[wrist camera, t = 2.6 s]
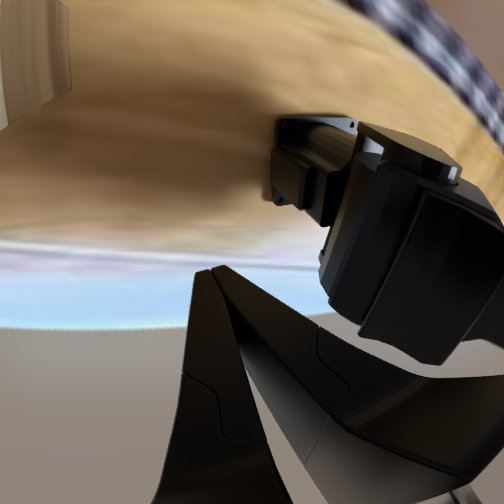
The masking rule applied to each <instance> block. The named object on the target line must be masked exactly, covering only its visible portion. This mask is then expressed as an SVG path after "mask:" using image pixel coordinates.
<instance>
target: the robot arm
mask: <svg viewBox="0 0 504 504" xmlns="http://www.w3.org/2000/svg"><path fill="white" fill-rule="evenodd" d="M283 122H286V125H285V126H284V127H282V123H283ZM350 122H351V125H350V126H349V124H350ZM356 128H357V131H358V134H357V136H356ZM462 169H463V168H462V167H461V166H460V165H459V164H458V163H457V162H456V161H454V160H453V159H452V158H451V157H450V156H449V155H448V154H447V153H445V152H444V151H443V150H442V149H440V148H438V147H436V146H434V145H432V144H430V143H427V142H425V141H423V140H421V139H418V138H416V137H414V136H411V135H408V134H405V133H402V132H398V131H395V130H391V129H388V128H384V127H381V126H377V125H373V124H369V123H365V122H361V121H359V123H358V126H357V122H356V120H355V119H353V118H351V117H332V116H283V117H280V118H278V119H277V121H276V124H275V144H274V148H273V149H272V153H271V173H270V183H271V184H272V198H271V199H272V202H273V203H274V204H275V205H277V206H283V205H289V204H293V205H294V206H295V207H296V208H297V209H298V210H300V211H302V210H304V211H305V212H306V213H307V214H308V215H309V216H311V217H312V218H313V219H314V220H315V221H316V222H317V223H318V224H319V225H320V226H321V227H328V226H330V229H329V232H328V235H327V238H326V242H325V245H324V248H323V249H322V250H321V251H320V254H319V261H320V264H321V265H320V268H319V271H318V272H319V278H320V283H321V285H322V287H323V288H324V290H325V292H326V293H327V295H328V296H329V299H328V303H329V305H330V306H331V307H332V308H333V309H334V310H335V311H336V312H337V313H339V314H340V315H341V316H342V317H344V318H345V319H347V320H349V321H350V322H352V323H354V324H356V325H358V326H361V327H360V329H359V331H358V333H357V334H358V336H360V337H362V338H367V339H372V340H378V341H381V342H383V343H386V344H389V345H392V346H394V347H396V348H397V349H399V350H401V351H403V352H404V353H406V354H407V355H409V356H411V357H412V358H414V359H415V360H417V361H419V362H420V363H423V364H429V365H437V366H439V365H442V364H443V363H444V362H445V361H446V360H447V358H448V357H449V356H450V355H451V353H452V352H453V351H454V350H455V348H456V347H457V346H458V345H459V343H460V342H464V341H471V340H477V339H481V340H484V341H487V342H489V343H491V344H493V345H495V346H497V347H499V348H501V349H503V350H504V226H503V224H502V222H501V220H500V218H499V217H498V215H497V213H496V212H495V210H494V209H493V207H492V206H491V204H490V203H489V201H488V200H487V198H486V197H485V195H484V194H483V192H482V191H481V190H480V189H479V188H478V187H477V186H475V185H473V184H472V183H470V182H468V181H466V180H464V179H462V178H460V175H461V172H462ZM279 197H281V198H280V200H278V201H277V199H278V198H279ZM244 366H245V367H244ZM245 368H246V370H247V371H248V373H249V375H250V377H251V379H252V380H253V382H254V384H255V386H256V387H257V389H258V391H259V393H260V394H261V396H262V398H263V400H264V401H265V403H266V405H267V407H268V408H269V410H270V411H271V413H272V415H273V417H274V418H275V420H276V422H277V423H278V425H279V427H280V428H281V430H282V432H283V433H284V435H285V436H286V438H287V440H288V441H289V443H290V445H291V446H292V448H293V450H294V451H295V453H296V454H297V456H298V458H299V459H300V461H301V462H302V464H303V465H304V467H305V469H306V470H307V472H308V474H309V475H310V477H311V478H312V480H313V481H314V483H315V484H316V486H317V487H318V489H319V490H320V492H321V493H322V495H323V496H324V498H325V499H326V501H327V502H328V504H504V375H496V376H482V377H462V378H429V377H424V376H420V375H416V374H413V373H411V372H408V371H406V370H404V369H401V368H399V367H397V366H395V365H393V364H390V363H388V362H386V361H383V360H382V359H380V358H377V357H375V356H373V355H371V354H369V353H367V352H365V351H363V350H361V349H359V348H356V347H355V346H353V345H351V344H349V343H347V342H346V341H344V340H342V339H340V338H338V337H337V336H335V335H334V334H332V333H330V332H329V331H327V330H325V329H324V328H322V327H319V326H318V325H317V324H316V323H314V322H313V321H311V320H309V319H308V318H306V317H305V316H303V315H302V314H300V313H298V312H297V311H295V310H294V309H292V308H291V307H289V306H287V305H286V304H284V303H283V302H281V301H280V300H278V299H277V298H275V297H274V296H272V295H270V294H269V293H267V292H266V291H264V290H263V289H261V288H260V287H258V286H257V285H255V284H254V283H252V282H250V281H249V280H247V279H246V278H244V277H243V276H241V275H240V274H238V273H237V272H235V271H234V270H232V269H231V268H229V267H228V266H226V265H221V266H217V267H213V268H211V270H209V269H206V270H202V271H199V272H196V273H195V275H194V282H193V289H192V295H191V302H190V310H189V317H188V324H187V332H186V341H185V349H184V356H183V366H182V374H181V382H180V390H179V397H178V404H177V410H176V415H175V419H174V424H173V429H172V433H171V437H170V441H169V445H168V450H167V454H166V458H165V462H164V466H163V471H162V475H161V479H160V482H159V485H158V488H157V491H156V493H155V496H154V498H153V500H152V502H151V504H293V502H292V500H291V497H290V495H289V493H288V491H287V489H286V487H285V485H284V483H283V480H282V478H281V476H280V474H279V472H278V469H277V467H276V464H275V462H274V459H273V456H272V453H271V451H270V448H269V445H268V443H267V438H266V435H265V432H264V429H263V426H262V423H261V420H260V416H259V414H258V410H257V407H256V404H255V400H254V397H253V394H252V391H251V387H250V384H249V381H248V377H247V374H246V370H245Z"/></svg>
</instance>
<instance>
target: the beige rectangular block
mask: <svg viewBox="0 0 504 504" xmlns="http://www.w3.org/2000/svg"><path fill="white" fill-rule="evenodd" d="M71 89H72V87H71V75H70V61H69V36H68V8H67V7H65V6H64V5H63V4H62V3H61V2H60V1H58V0H0V130H2V129H3V128H5V127H6V126H8V125H9V124H11V123H13V122H14V121H16V120H17V119H19V118H20V117H22V116H24V115H25V114H27V113H29V112H30V111H32V110H34V109H36V108H37V107H39V106H41V105H43V104H44V103H46V102H48V101H50V100H52V99H54V98H56V97H57V96H59V95H61V94H63V93H65V92H67V91H69V90H71Z"/></svg>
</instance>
